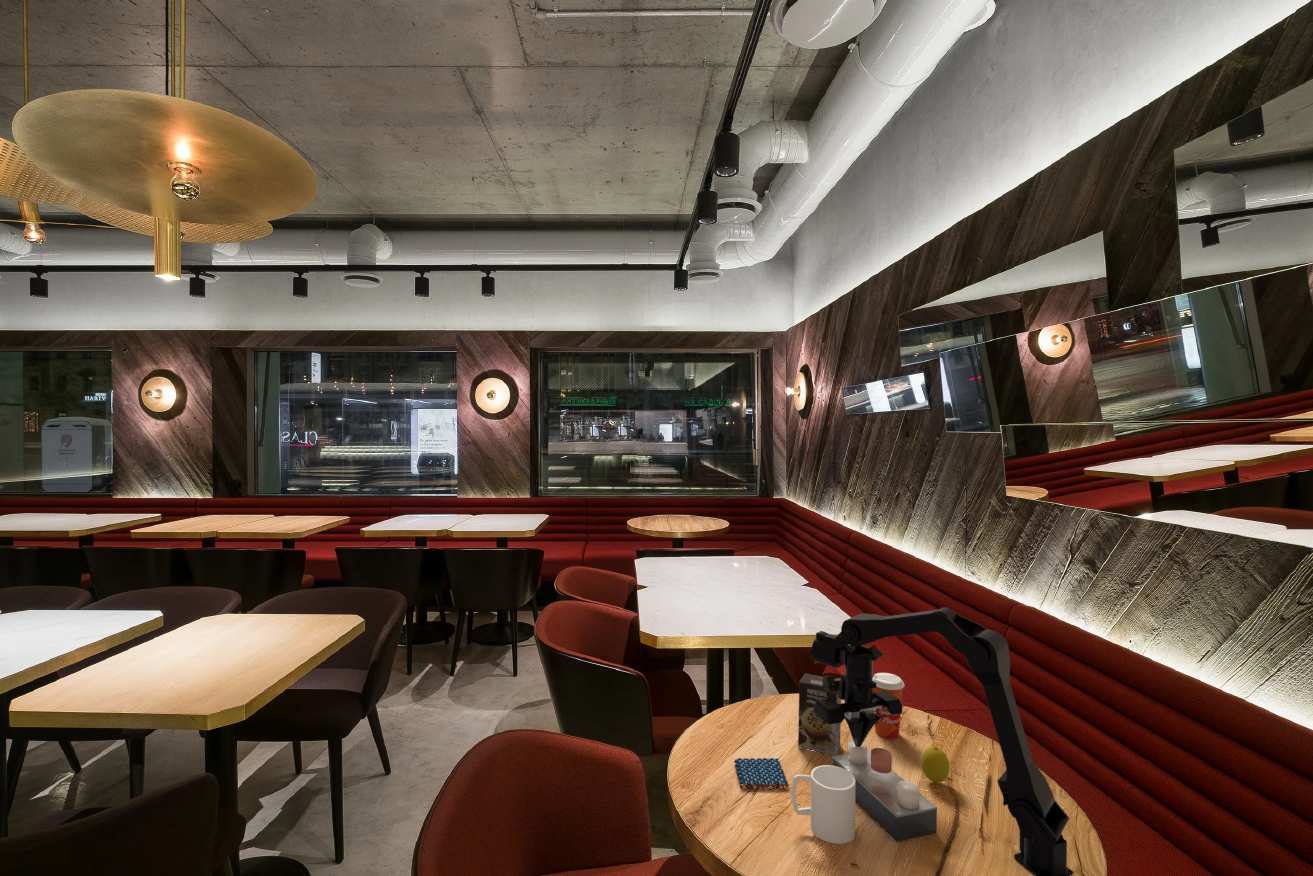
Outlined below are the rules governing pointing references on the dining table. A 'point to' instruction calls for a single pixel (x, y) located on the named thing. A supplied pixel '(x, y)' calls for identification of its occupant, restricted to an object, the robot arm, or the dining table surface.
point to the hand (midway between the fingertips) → (857, 745)
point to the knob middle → (881, 760)
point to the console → (888, 801)
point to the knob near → (908, 794)
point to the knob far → (857, 753)
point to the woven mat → (760, 773)
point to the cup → (829, 803)
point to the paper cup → (887, 723)
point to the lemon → (935, 764)
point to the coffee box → (816, 718)
